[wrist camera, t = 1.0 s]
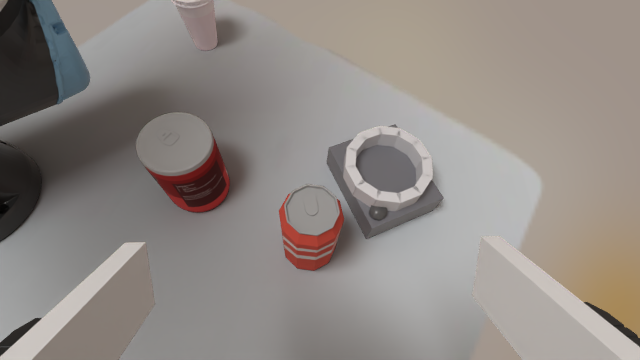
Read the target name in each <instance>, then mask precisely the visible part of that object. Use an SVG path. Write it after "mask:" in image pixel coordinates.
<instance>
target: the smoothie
mask: <svg viewBox="0 0 640 360" xmlns="http://www.w3.org/2000/svg"><path fill="white" fill-rule="evenodd" d="M171 1H172V2H173V3H174V4H175V5H176V7H177V9H178V11H179V13H180V15H181V17H182V19H183V21H184V23H185V25H186V27H187V29H188V31H189V33H190V35H191V37H192V39H193V41H194V43H195V45H196V47H197V48H198V49H200V50H204V51H207V50H211V49H214V48H215V47H216V46H217V44H218V39H217V30H216V20H215V11H214V1H213V0H171Z"/></svg>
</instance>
